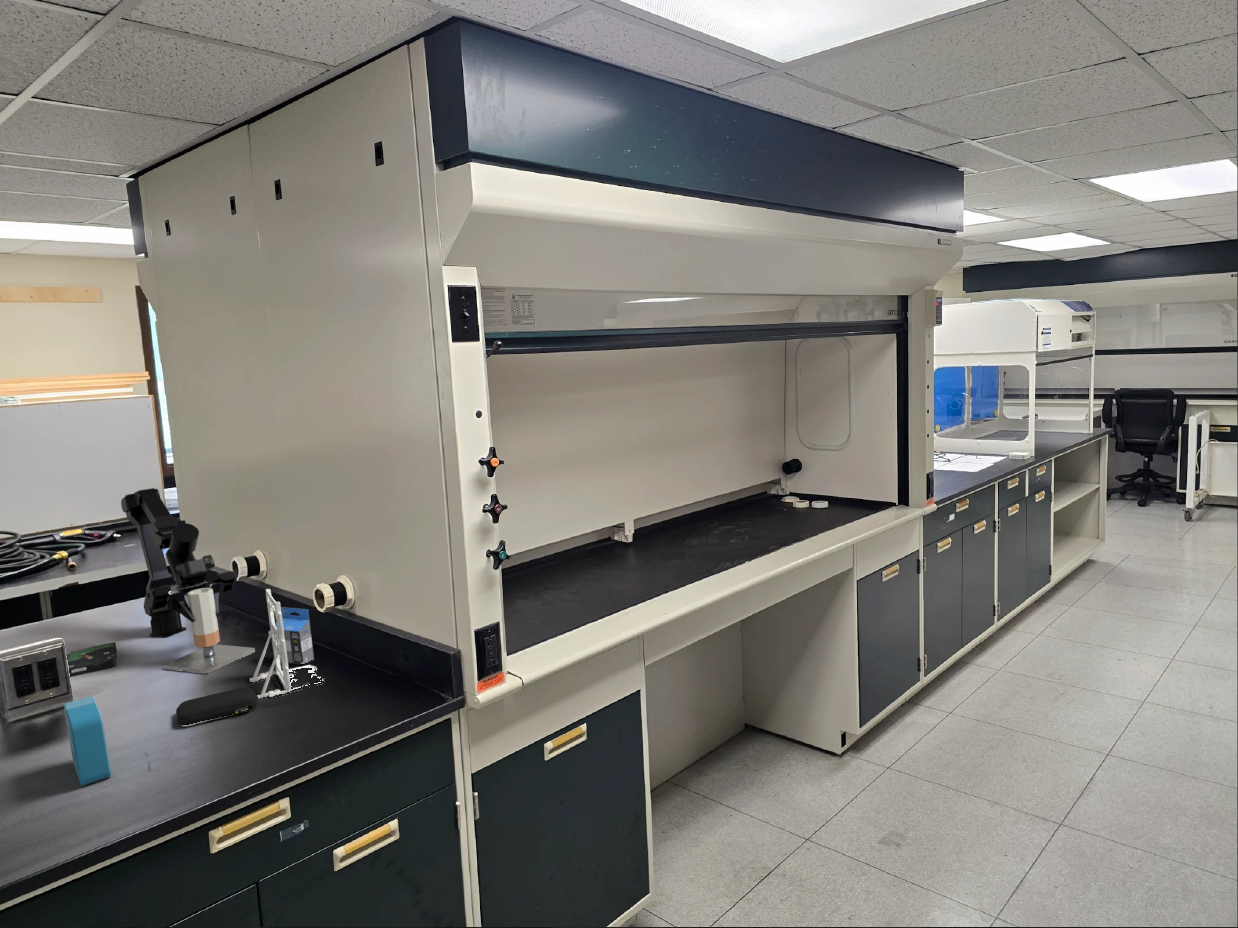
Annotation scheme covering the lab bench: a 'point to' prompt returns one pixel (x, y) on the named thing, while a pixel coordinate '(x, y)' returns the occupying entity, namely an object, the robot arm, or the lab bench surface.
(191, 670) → the pin plate
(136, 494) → the robot arm
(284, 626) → the label tape cartridge
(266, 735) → the lab bench surface
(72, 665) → the disk drive
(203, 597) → the sleeve
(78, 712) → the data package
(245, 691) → the carrying case or bag
